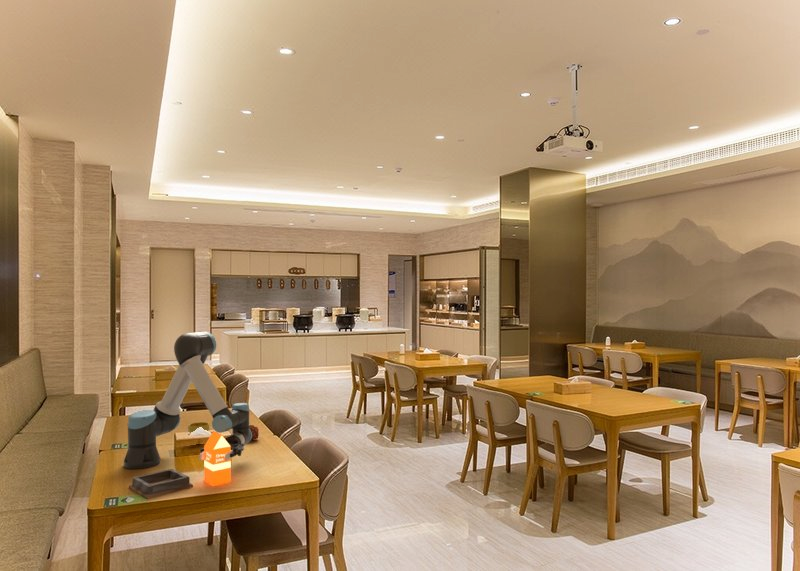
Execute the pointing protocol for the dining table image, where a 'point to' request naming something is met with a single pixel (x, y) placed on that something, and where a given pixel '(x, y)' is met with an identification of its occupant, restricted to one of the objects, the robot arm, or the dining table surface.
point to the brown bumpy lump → (254, 432)
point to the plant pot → (196, 425)
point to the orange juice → (217, 460)
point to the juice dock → (160, 483)
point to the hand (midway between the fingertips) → (213, 457)
